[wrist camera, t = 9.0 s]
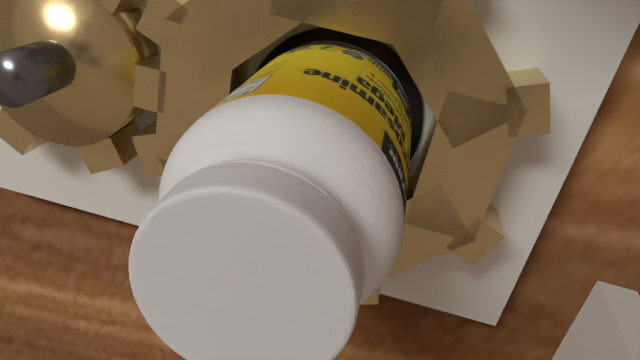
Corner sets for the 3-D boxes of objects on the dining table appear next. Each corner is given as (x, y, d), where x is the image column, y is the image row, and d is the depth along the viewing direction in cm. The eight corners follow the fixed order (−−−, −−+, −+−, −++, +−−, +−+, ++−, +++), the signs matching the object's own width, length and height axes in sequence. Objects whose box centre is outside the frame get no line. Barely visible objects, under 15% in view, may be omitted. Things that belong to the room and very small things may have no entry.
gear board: (-19, -189, 19) (-46, -196, 18) (651, -37, 17) (666, -35, 16) (10, 174, 26) (-7, 185, 25) (492, 308, 24) (495, 326, 23)
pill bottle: (445, 137, 19) (468, 346, 10) (318, 216, 22) (232, 448, 12) (344, -2, 18) (248, 77, 8) (220, 100, 20) (31, 256, 11)
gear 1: (-27, -86, 19) (-142, -90, 15) (197, -32, 19) (136, -22, 15) (-7, 121, 23) (-95, 160, 19) (179, 172, 22) (127, 223, 18)
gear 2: (171, -135, 17) (141, -143, 16) (602, -38, 16) (623, -33, 15) (149, 222, 24) (127, 246, 22) (456, 308, 23) (459, 340, 21)
